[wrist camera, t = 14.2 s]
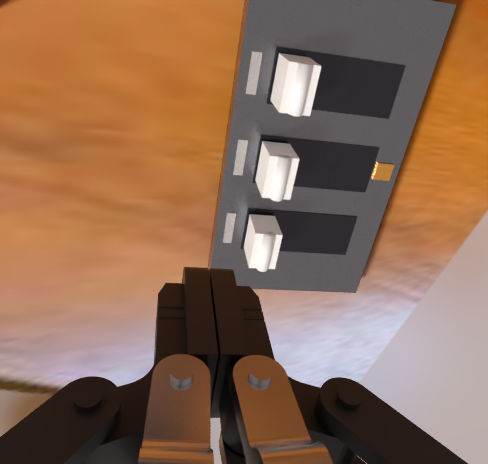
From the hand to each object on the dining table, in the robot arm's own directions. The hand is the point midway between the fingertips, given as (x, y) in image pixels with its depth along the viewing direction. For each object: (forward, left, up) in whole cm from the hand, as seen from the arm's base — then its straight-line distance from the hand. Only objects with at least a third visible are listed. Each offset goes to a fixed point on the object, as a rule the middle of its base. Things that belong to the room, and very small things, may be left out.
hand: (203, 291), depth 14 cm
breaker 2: (-2, +8, -25) cm, 26 cm away
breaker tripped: (+5, +8, -25) cm, 26 cm away
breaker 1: (+12, +8, -25) cm, 29 cm away
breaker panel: (+5, +12, -27) cm, 30 cm away
